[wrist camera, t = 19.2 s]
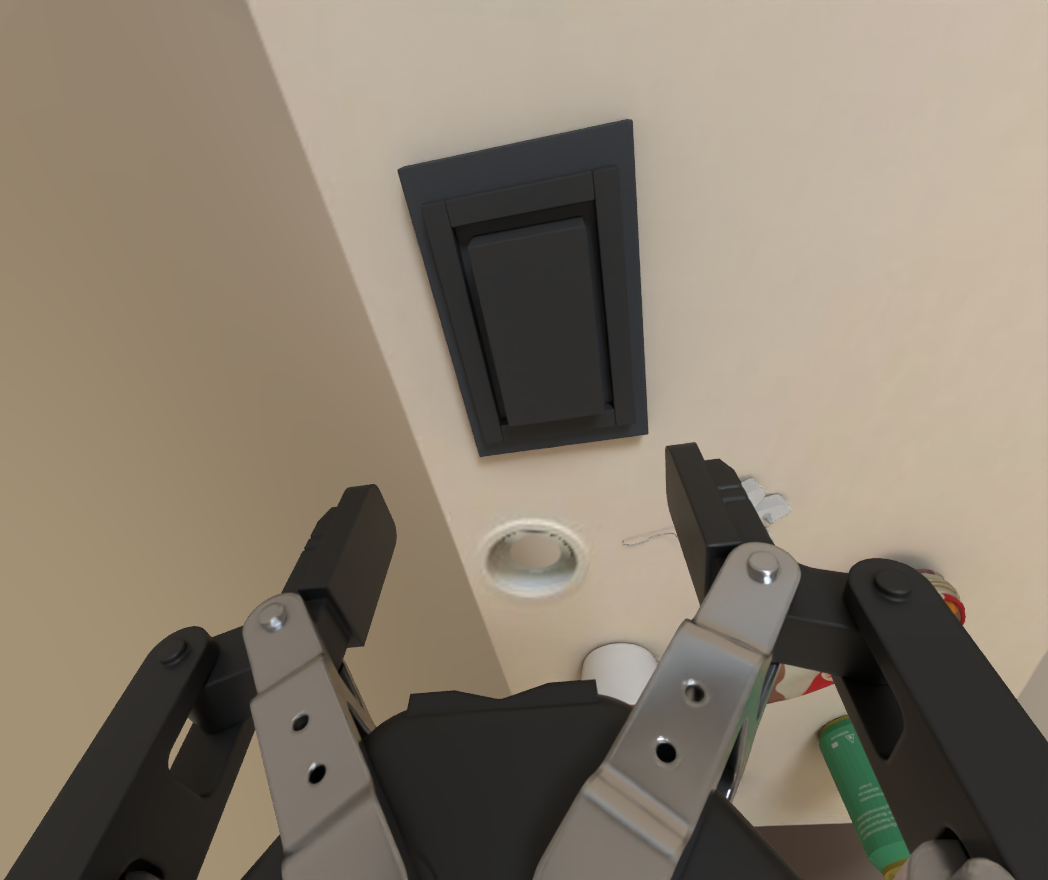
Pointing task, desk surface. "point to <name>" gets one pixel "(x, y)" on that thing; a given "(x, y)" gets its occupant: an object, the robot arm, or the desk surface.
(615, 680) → the candle
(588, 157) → the base pad
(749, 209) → the desk surface
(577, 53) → the desk surface
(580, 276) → the black pad
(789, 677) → the pencil case
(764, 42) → the desk surface
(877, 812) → the beverage can
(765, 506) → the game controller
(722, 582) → the robot arm
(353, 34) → the desk surface
